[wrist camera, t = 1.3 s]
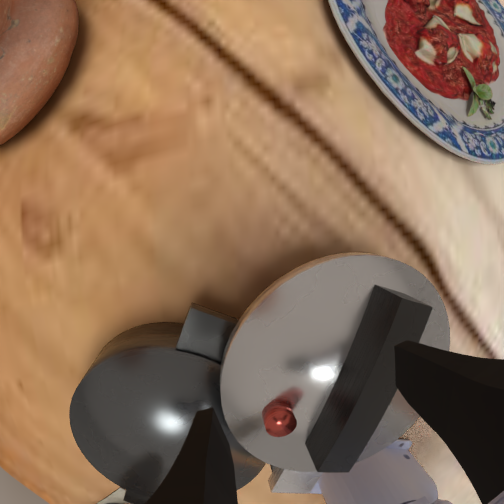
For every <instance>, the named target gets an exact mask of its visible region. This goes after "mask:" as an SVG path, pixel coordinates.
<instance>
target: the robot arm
mask: <svg viewBox="0 0 504 504" xmlns="http://www.w3.org/2000/svg"><path fill="white" fill-rule="evenodd" d="M394 350H395V381H396V387H397V388H398V390H399V391H400V393H401V394H402V396H403V397H404V398H405V400H406V401H407V403H408V404H409V405H410V406H411V407H412V408H413V409H414V410H415V411H416V412H417V413H418V414H419V415H420V416H421V417H422V418H423V419H424V421H425V422H426V423H427V424H428V425H429V426H430V427H431V428H432V429H433V430H434V431H435V432H436V433H437V434H438V435H439V436H440V437H441V439H442V440H443V441H444V442H445V443H446V445H447V446H448V448H449V449H450V450H451V452H452V453H453V454H454V456H455V457H456V459H457V460H458V462H459V463H460V465H461V466H462V468H463V470H464V471H465V473H466V475H467V476H468V478H469V480H470V481H471V483H472V485H473V487H474V488H475V490H476V492H477V494H478V496H479V498H480V500H481V502H482V504H504V360H501V359H488V358H479V357H473V356H468V355H462V354H458V353H454V352H449V351H446V350H442V349H438V348H435V347H431V346H428V345H424V344H420V343H417V342H413V341H408V340H406V341H404V342H402V343H400V344H397V345H395V346H394ZM411 445H412V442H411V440H405V439H397V440H396V441H394V442H393V443H392V444H390V445H389V446H387V447H386V448H384V449H383V450H381V451H380V452H378V453H376V454H374V455H372V456H371V457H369V458H366V459H364V460H362V461H360V462H357V463H355V464H354V466H353V467H352V469H351V470H350V472H345V473H324V472H323V474H322V475H321V477H320V478H319V480H318V481H317V483H316V484H315V486H314V487H313V489H312V490H311V492H310V493H316V494H323V497H324V499H325V501H326V504H452V503H451V502H449V501H447V500H440V499H438V491H437V487H436V484H435V483H434V481H433V480H432V478H431V477H430V476H429V475H428V474H427V472H426V471H425V470H424V469H423V467H422V466H421V465H420V464H419V463H418V461H417V460H416V459H415V458H414V457H413V455H412V454H411V453H410V452H409V450H408V449H409V448H410V446H411ZM145 504H238V502H237V491H236V481H235V470H234V463H233V458H232V454H231V449H230V445H229V442H228V440H227V438H226V435H225V433H224V431H223V429H222V427H221V424H220V422H219V420H218V417H217V415H216V413H215V410H214V408H208V409H204V410H200V411H197V412H196V414H195V416H194V419H193V422H192V425H191V427H190V430H189V432H188V434H187V437H186V439H185V441H184V443H183V446H182V448H181V450H180V452H179V454H178V456H177V458H176V460H175V461H174V463H173V465H172V467H171V469H170V470H169V472H168V474H167V475H166V477H165V478H164V480H163V481H162V483H161V484H160V486H159V487H158V488H157V490H156V491H155V492H154V493H153V495H152V496H151V497H150V498H149V499H148V501H147V502H146V503H145Z"/></svg>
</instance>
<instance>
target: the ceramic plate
mask: <svg viewBox="0 0 504 504" xmlns="http://www.w3.org/2000/svg"><path fill="white" fill-rule="evenodd" d="M328 2H329V5H330V8H331V10H332V13H333V16H334V18H335V20H336V22H337V25H338V27H339V29H340V31H341V33H342V34H343V36H344V38H345V40H346V42H347V44H348V45H349V47H350V48H351V50H352V51H353V53H354V55H355V56H356V58H357V59H358V61H359V62H360V63H361V65H362V66H363V68H364V69H365V71H366V72H367V73H368V75H369V76H370V77H371V78H372V80H373V81H374V82H375V83H376V85H377V86H378V87H379V89H380V90H381V91H382V92H383V94H384V95H385V96H386V97H387V98H388V99H389V100H390V101H391V102H392V103H393V104H394V105H395V106H396V107H397V109H398V110H399V111H400V112H401V113H402V114H403V115H404V116H405V117H406V118H407V119H408V120H409V121H411V122H412V123H413V124H414V125H415V126H416V127H417V128H418V129H420V130H421V131H422V132H423V133H424V134H425V135H427V136H428V137H429V138H431V139H432V140H433V141H435V142H436V143H437V144H439V145H440V146H442V147H444V148H445V149H447V150H448V151H450V152H452V153H454V154H456V155H458V156H460V157H462V158H465V159H467V160H470V161H473V162H478V163H482V164H500V163H503V162H504V7H503V6H502V5H501V3H500V2H499V1H498V0H328Z"/></svg>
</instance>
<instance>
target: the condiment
mask: <svg viewBox="0 0 504 504" xmlns="http://www.w3.org/2000/svg"><path fill="white" fill-rule="evenodd" d="M124 494H125V490H124V489H122V488H119V489H118V490H117V491H115V492H113V493H112V494H111V495H109V496H108V497H107V498H105V499H103V500H102V501H100V502H98V503H97V504H124V503H127V504H128V503H129V502H126V501H123V499H124ZM130 504H132V503H130Z"/></svg>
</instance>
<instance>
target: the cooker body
mask: <svg viewBox="0 0 504 504" xmlns="http://www.w3.org/2000/svg"><path fill="white" fill-rule="evenodd" d="M238 320H239V319H236V318H233V317H230V316H228V315H225V314H222V313H219V312H217V311H214V310H211V309H208V308H206V307H203V306H200V305H198V304H195V303H191V306H190V308H189V311H188V313H187V316H186V319H185V321H184V324H180V323H168V322H163V323H151V324H145V325H141V326H138V327H134V328H131V329H129V330H127V331H125V332H123V333H121V334H120V335H118V336H117V337H115V338H114V339H112V340H111V341H110V342H109V343H108V344H107V345H106V346H105V347H104V349H103V350H102V351H101V353H100V354H99V355H98V357H97V358H96V360H95V361H94V363H93V364H92V366H91V367H90V369H89V370H88V372H87V373H86V375H85V376H84V378H83V379H82V381H81V382H80V384H79V385H78V387H77V388H76V391H75V393H74V395H73V397H72V401H71V405H70V425H71V429H72V433H73V436H74V438H75V441H76V443H77V445H78V447H79V448H80V450H81V452H82V453H83V455H84V456H85V457H86V459H87V460H88V461H89V462H90V463H91V464H92V465H93V466H94V467H95V468H96V469H97V470H98V471H99V472H100V473H101V474H102V475H104V476H105V477H106V478H108V479H109V480H111V481H112V482H114V483H115V484H117V485H119V486H121V487H122V488H124V489H126V491H125V494H124V499H123V501H126V502H129V503H132V504H145V503H146V502H147V501H148V499H149V498H150V497H151V496H152V495H153V493H154V492H155V491H156V490H157V488H158V487H159V486H160V484H161V483H162V481H163V480H164V478H165V477H166V475H167V474H168V472H169V470H170V469H171V467H172V465H173V463H174V461H175V460H176V458H177V456H178V454H179V452H180V450H181V448H182V446H183V443H184V441H185V439H186V437H187V434H188V432H189V430H190V427H191V425H192V422H193V419H194V416H195V414H196V412H197V411H200V410H204V409H208V408H214V410H215V413H216V415H217V417H218V420H219V422H220V424H221V427H222V429H223V431H224V433H225V435H226V438H227V440H228V442H229V445H230V449H231V454H232V458H233V463H234V470H235V481H236V490H238V489H240V488H242V487H243V486H245V485H246V484H247V483H249V482H250V481H251V480H252V479H253V478H254V477H256V476H257V475H258V473H259V472H260V471H261V470H262V468H263V467H264V465H265V462H263V461H262V460H260V459H258V458H256V457H255V456H253V455H252V454H251V453H249V452H248V451H247V450H246V449H245V448H244V447H243V446H242V445H241V444H240V443H239V442H238V441H237V440H236V438H235V437H234V435H233V434H232V432H231V431H230V429H229V427H228V424H227V422H226V420H225V417H224V413H223V409H222V404H221V393H220V369H221V362H222V358H223V354H224V350H225V347H226V345H227V342H228V340H229V337H230V335H231V333H232V331H233V329H234V327H235V326H236V324H237V322H238ZM270 466H271V469H272V472H273V470H274V469H275V466H273V465H270Z"/></svg>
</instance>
